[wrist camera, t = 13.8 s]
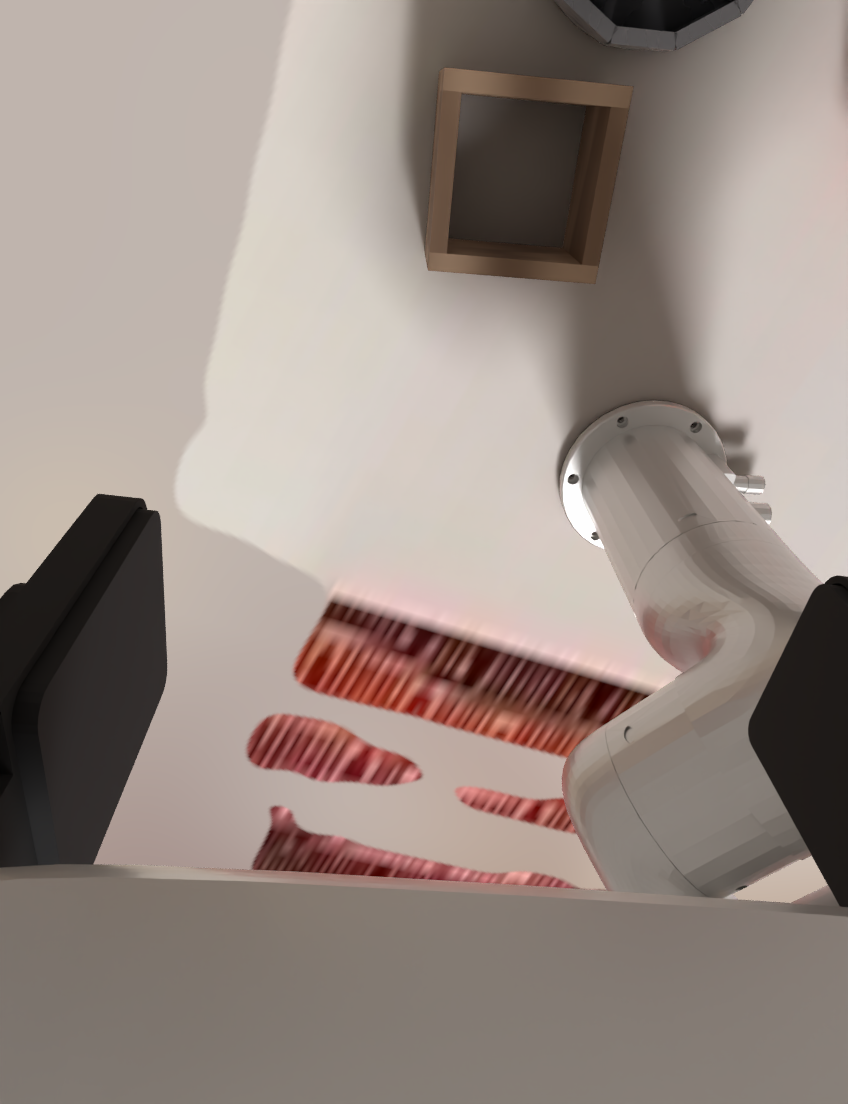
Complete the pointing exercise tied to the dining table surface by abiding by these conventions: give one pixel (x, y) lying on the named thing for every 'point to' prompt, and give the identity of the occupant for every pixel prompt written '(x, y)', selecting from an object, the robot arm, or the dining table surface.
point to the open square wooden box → (589, 186)
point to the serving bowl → (650, 20)
